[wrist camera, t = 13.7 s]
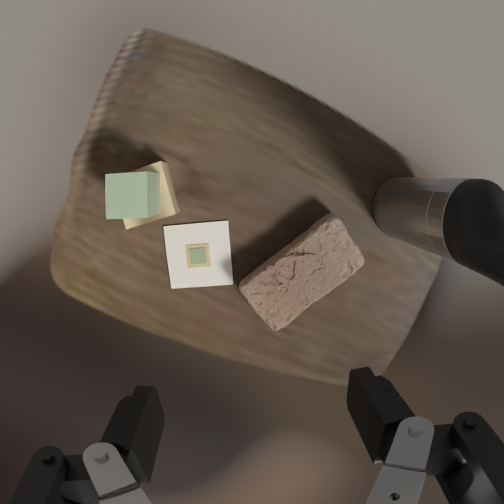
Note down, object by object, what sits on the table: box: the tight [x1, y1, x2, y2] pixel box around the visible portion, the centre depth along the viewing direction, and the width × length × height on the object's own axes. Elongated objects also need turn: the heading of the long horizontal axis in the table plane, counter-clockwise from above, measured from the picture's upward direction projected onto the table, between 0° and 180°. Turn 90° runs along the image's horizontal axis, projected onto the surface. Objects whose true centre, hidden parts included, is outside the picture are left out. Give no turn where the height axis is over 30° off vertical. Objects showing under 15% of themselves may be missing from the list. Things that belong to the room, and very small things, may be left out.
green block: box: [105, 171, 161, 219], centre depth 34 cm, size 5×5×6 cm
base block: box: [123, 161, 181, 229], centre depth 39 cm, size 7×7×4 cm
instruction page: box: [163, 221, 233, 289], centre depth 43 cm, size 9×9×1 cm
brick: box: [239, 213, 364, 331], centre depth 42 cm, size 17×8×5 cm, turn 128°
